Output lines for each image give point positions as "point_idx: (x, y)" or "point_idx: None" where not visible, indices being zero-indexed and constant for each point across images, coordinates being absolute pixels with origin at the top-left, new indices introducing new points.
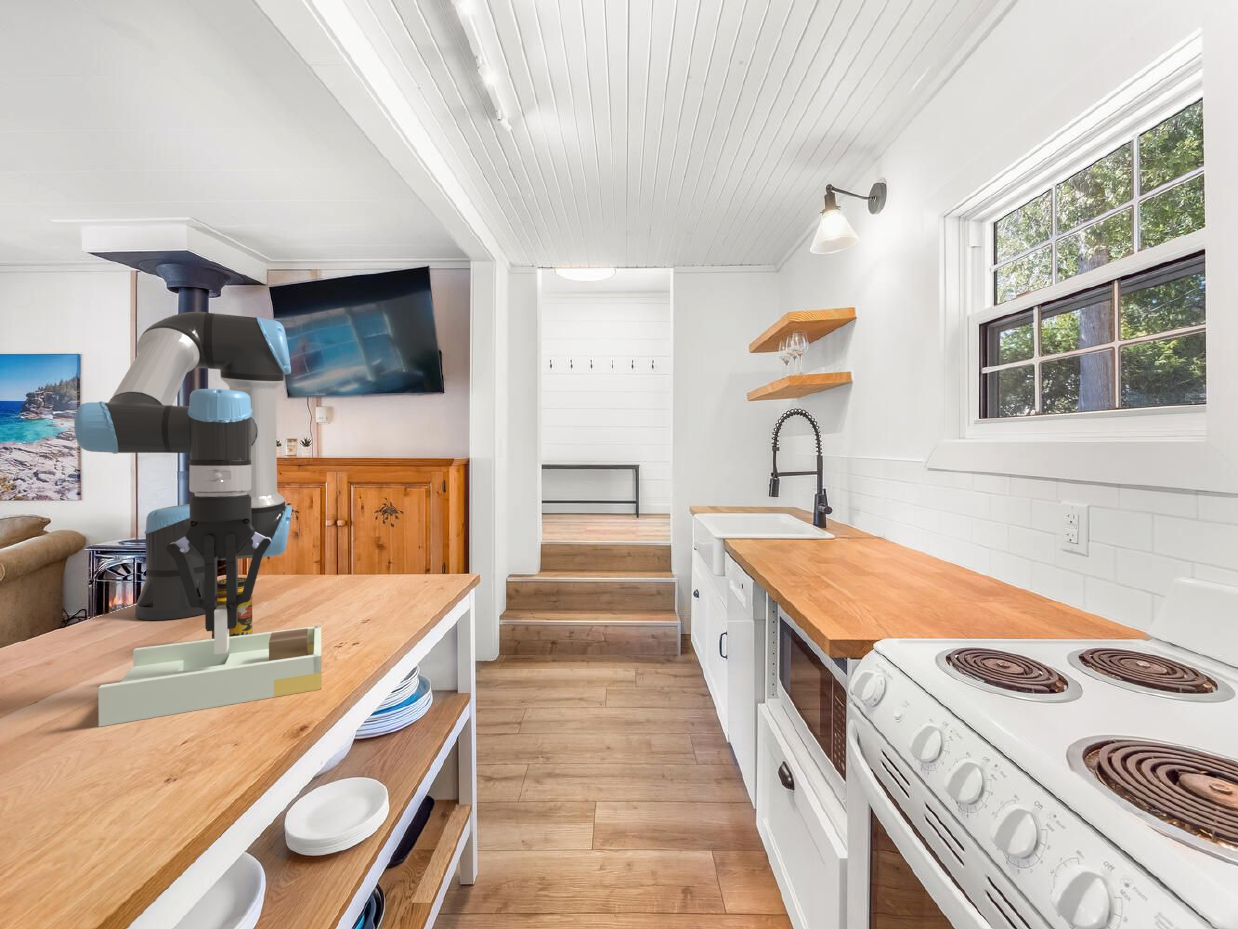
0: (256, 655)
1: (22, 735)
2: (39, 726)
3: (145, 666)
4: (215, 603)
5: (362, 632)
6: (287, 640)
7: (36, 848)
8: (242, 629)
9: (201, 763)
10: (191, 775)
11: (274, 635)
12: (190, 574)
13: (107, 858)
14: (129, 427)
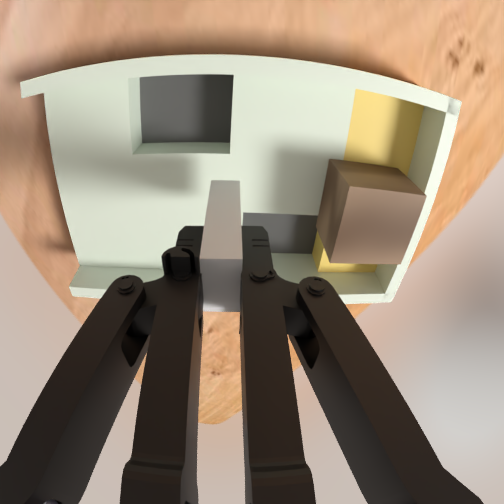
0: (298, 121)
1: (25, 240)
2: (24, 222)
3: (63, 96)
4: (200, 308)
5: (496, 10)
6: (365, 262)
7: None
8: None
9: (234, 363)
10: (229, 373)
11: (351, 217)
12: (107, 434)
13: (204, 409)
14: None
